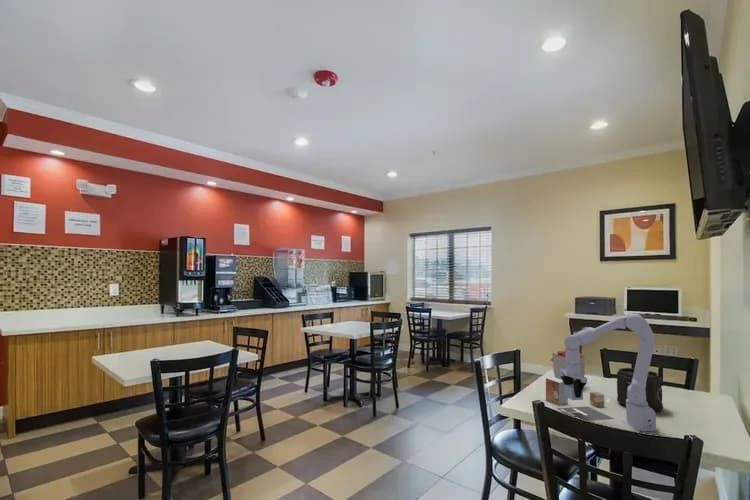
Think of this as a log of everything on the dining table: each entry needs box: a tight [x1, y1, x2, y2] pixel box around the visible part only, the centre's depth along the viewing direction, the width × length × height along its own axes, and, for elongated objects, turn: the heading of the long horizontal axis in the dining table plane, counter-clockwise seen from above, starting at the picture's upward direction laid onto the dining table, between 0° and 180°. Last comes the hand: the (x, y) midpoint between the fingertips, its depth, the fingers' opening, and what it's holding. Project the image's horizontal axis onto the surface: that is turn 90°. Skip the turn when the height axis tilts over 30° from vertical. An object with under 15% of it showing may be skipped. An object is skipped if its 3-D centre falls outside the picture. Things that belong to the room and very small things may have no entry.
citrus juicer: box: [549, 349, 586, 380], centre depth 206 cm, size 16×17×20 cm
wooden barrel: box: [616, 367, 664, 414], centre depth 174 cm, size 18×18×16 cm
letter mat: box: [556, 406, 615, 422], centre depth 163 cm, size 15×16×1 cm
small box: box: [545, 376, 569, 405], centre depth 178 cm, size 8×6×10 cm
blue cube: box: [565, 384, 584, 401], centre depth 165 cm, size 5×5×5 cm
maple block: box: [589, 391, 605, 408], centre depth 173 cm, size 4×4×6 cm
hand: (573, 395), depth 164 cm, fingers closed on blue cube, 5 cm apart
